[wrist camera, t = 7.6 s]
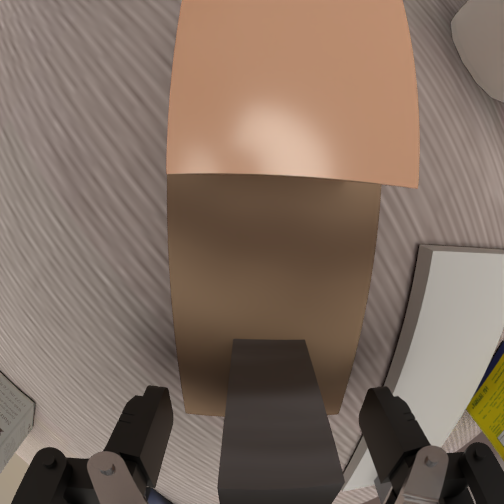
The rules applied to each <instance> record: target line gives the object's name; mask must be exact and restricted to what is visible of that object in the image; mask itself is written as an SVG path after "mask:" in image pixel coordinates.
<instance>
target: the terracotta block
mask: <svg viewBox="0 0 504 504" xmlns="http://www.w3.org/2000/svg"><path fill="white" fill-rule="evenodd" d="M419 146H420V142H419V108H418V93H417V82H416V72H415V64H414V57H413V50H412V44H411V38H410V32H409V27H408V22H407V17H406V13H405V9H404V5H403V1H402V0H182V3H181V9H180V15H179V21H178V27H177V34H176V42H175V49H174V58H173V67H172V76H171V87H170V99H169V114H168V132H167V159H166V174H188V175H239V176H271V177H291V178H307V179H321V180H333V181H344V182H357V183H369V184H380V185H389V186H399V187H407V188H415V189H418V181H419Z"/></svg>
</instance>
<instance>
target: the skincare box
mask: <svg viewBox="0 0 504 504" xmlns="http://www.w3.org/2000/svg"><path fill="white" fill-rule="evenodd" d="M34 407H35V403H34V402H33V401H31V400H30V399H29V398H28V397H27V396H25V395H24V394H23V393H22V392H21V391H20V390H18V389H17V388H16V387H15V386H14V385H13V384H12V383H11V382H10V381H9V380H8V379H7V378H6V377H5V376H4V375H3V374H2V373H1V372H0V473H1V472H2V470H3V469H4V467H5V466H6V464H7V463H8V461H9V460H10V458H11V457H12V456H13V454H14V453H15V452H16V450H17V449H18V447H19V446H20V445H21V443H22V442H23V441H24V439H25V438H26V437H27V435H28V434H29V433H30V431H31V430H32V426H33V415H34Z"/></svg>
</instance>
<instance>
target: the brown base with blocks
mask: <svg viewBox="0 0 504 504" xmlns="http://www.w3.org/2000/svg"><path fill="white" fill-rule="evenodd" d="M380 197H381V185H380V184H369V183H357V182H344V181H333V180H321V179H307V178H291V177H271V176H239V175H188V174H167V226H168V254H169V272H170V287H171V300H172V312H173V323H174V332H175V341H176V350H177V358H178V366H179V373H180V380H181V387H182V393H183V400H184V406H185V411H186V413H188V414H197V415H209V416H223V417H225V419H224V428H223V438H222V448H221V457H220V467H219V477H218V487H217V488H218V495H219V501H220V504H332V502H333V501H334V499H335V498H336V496H337V495H338V493H339V491H340V490H341V488H342V487H343V485H344V483H345V480H344V476H343V472H342V468H341V464H340V461H339V457H338V453H337V450H336V446H335V442H334V438H333V435H332V431H331V428H330V424H329V420H328V417H327V415H334V414H338V413H339V410H340V407H341V404H342V401H343V398H344V394H345V391H346V388H347V384H348V381H349V377H350V373H351V370H352V366H353V362H354V358H355V354H356V350H357V346H358V342H359V337H360V333H361V329H362V324H363V319H364V314H365V309H366V304H367V299H368V293H369V287H370V282H371V275H372V269H373V262H374V255H375V247H376V239H377V230H378V221H379V210H380Z"/></svg>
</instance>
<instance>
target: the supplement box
mask: <svg viewBox="0 0 504 504" xmlns="http://www.w3.org/2000/svg"><path fill="white" fill-rule="evenodd" d="M466 410H467V411H468V413H469V414H470V415H471V416H472V418H473V419H474V421H475V422H476V423H477V424H478V426H479V427H480V429H481V430H482V431H483V433H484V434H485V435H486V437H487V438H488V439H489V441H490V442H491V444H492V445H493V447H494V448H495V449H496V451H497V452H498V454H499V455H500V456H501V458H502V459H503V461H504V341H503V343H502V344H501V346H500V348H499V349H498V351H497V353H496V354H495V356H494V358H493V359H492V361H491V362H490V364H489V365H488V367H487V369H486V371H485V373H484V376H483V378H482V380H481V382H480V384H479V386H478V388H477V389H476V391H475V393H474V395H473V397H472V399H471V401H470V402H469V404H468V406H467V408H466Z"/></svg>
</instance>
